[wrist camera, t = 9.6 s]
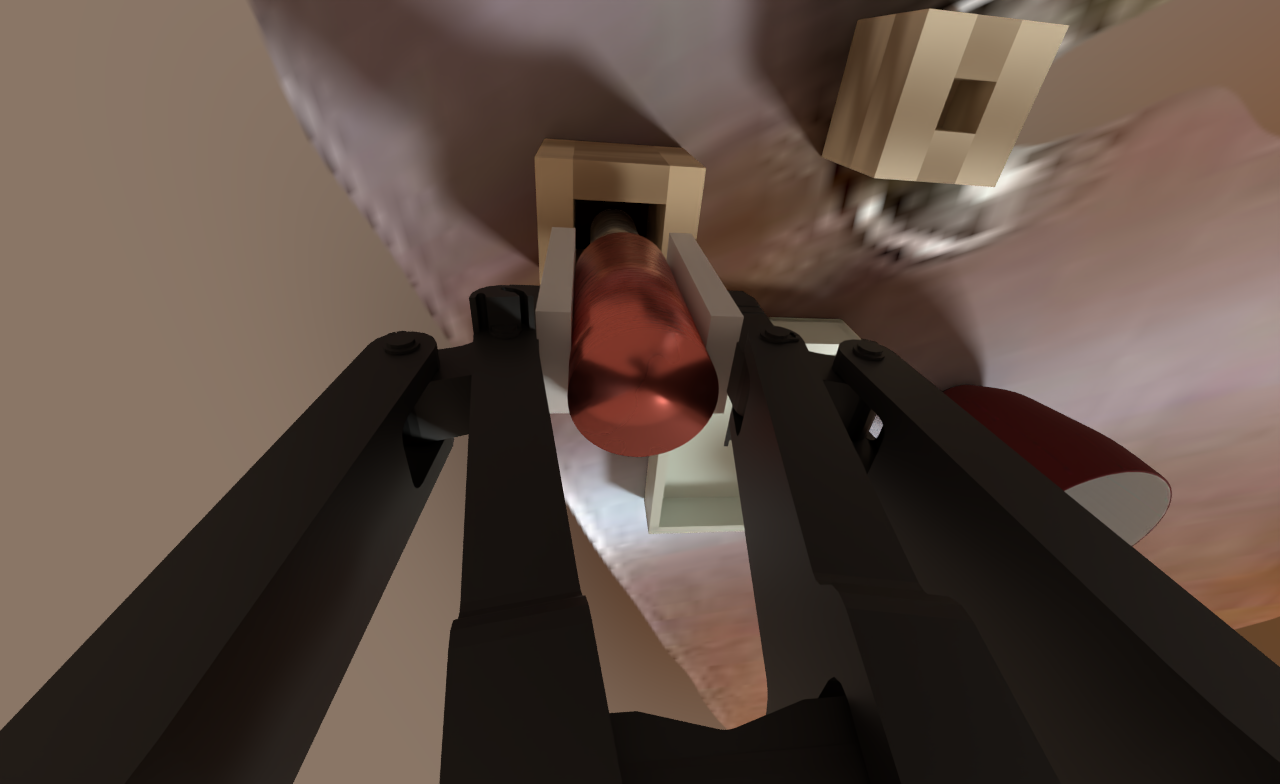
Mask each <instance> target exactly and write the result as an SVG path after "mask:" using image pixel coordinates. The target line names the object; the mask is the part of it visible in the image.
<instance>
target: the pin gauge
mask: <svg viewBox="0 0 1280 784" xmlns="http://www.w3.org/2000/svg"><path fill="white" fill-rule="evenodd" d="M590 243H591V244H590V245H589V246H588V247H587V248H586V249H585V250H584V251H583V252H582V254H581V255H580V257H579V259H578V261H577V264H576V266H575V279H574V300H573V321H572V342H571V353H570V359H569V374H568V393H567V399H568V408H569V412H570V415H571V418H572V420H573V422H574V424H575V425H576V427H577V429H578V430H579V431H580V432H581V434H582V435H583V436H584V437H585V438H587V439H588V440H589V441H590V442H592V443H593V444H594V445H596V446H598V447H600V448H601V449H604V450H606V451H608V452H611V453H615V454H618V455H624V456H632V457H645V456H653V455H658V454H662V453H665V452H668V451H671V450H674V449H676V448H678V447H680V446H682V445H684V444H685V443H687V442H688V441H690V440H691V439H692V438H694V437H695V436H696V435H697V434H698V433H699V432H700V431H701V430H702V429H703V428H704V427H705V426H706V424H707V423H708V421H709V420H710V418H711V417H712V415H713V413H714V410H715V408H716V405H717V401H718V395H719V382H718V376H717V373H716V370H715V368H714V365H713V363H712V361H711V359H710V356H709V354H708V352H707V350H706V347H705V345H704V343H703V341H702V339H701V336H700V334H699V332H698V330H697V327H696V325H695V323H694V321H693V318H692V316H691V314H690V312H689V310H688V307H687V305H686V303H685V301H684V298H683V296H682V294H681V292H680V289H679V287H678V285H677V283H676V281H675V278H674V276H673V274H672V272H671V269H670V267H669V265H668V263H667V261H666V259H665V257H664V255H663V253H662V252H661V250H660V249H659V248H658V247H657V246H656V245H655V244H654V243H653V242H651V241H650V240H648V239H647V238H645V237H643V236H640V235H638V232H637V229H636V227H635V224H634V221H633V220H632V218H631V217H630V216H629V215H628V214H627V213H626V212H624V211H622V210H619V209H607V210H604V211H602V212H600V213H599V214H598V215H597V216H596V217H595V218H594V220H593V222H592V224H591V228H590Z"/></svg>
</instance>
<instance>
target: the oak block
mask: <svg viewBox="0 0 1280 784" xmlns="http://www.w3.org/2000/svg"><path fill="white" fill-rule="evenodd" d="M705 172H706V168H705V167H704V166H703V165H702V164H701V163H700V162H698V161H697V160H696V159H695V158H694V157H693V156H691V155H690V154H689V153H688V152H687V151H686V150H685V149H683V148H677V147H662V146H648V145H633V144H619V143H605V142H590V141H576V140H561V139H547V138H545V139H544V140H543V142H542V144H541V146H540V148H539V150H538V152H537V153H536V155H535V180H536V203H537V225H538V248H539V271H540V285H541V280H542V275H543V270H544V265H545V260H546V255H547V250H548V245H549V240H550V235H551V230H552V227H563V228H575V199H580V200H598V201H616V202H634V203H649V210H648V222H647V235H646V238H647V239H648V240H650V241H651V242H653V243H654V244H655V245H656V246H657V247H658V248H659V249H660V250H661V252H662V253H663V255H664V257H665V259H667V249H668V240H669V233H689V234H692V236H693V237H694V239H695V240H696V238H697V230H698V223H699V216H700V208H701V201H702V194H703V187H704V179H705ZM584 250H585V249H575V266H576V264H577V261H578V259H579V257H580V255H581V254H582V252H583V251H584Z"/></svg>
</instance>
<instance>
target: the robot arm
mask: <svg viewBox="0 0 1280 784" xmlns="http://www.w3.org/2000/svg"><path fill="white" fill-rule="evenodd" d="M666 261H667V263H668V265H669V267H670V269H671V272H672V274H673V276H674V278H675V281H676V283H677V285H678V287H679V289H680V292H681V294H682V296H683V298H684V301H685V303H686V305H687V307H688V310H689V312H690V314H691V316H692V318H693V321H694V323H695V325H696V327H697V330H698V332H699V334H700V336H701V339H702V341H703V343H704V345H705V347H706V350H707V352H708V354H709V356H710V359H711V361H712V363H713V365H714V368H715V370H716V373H717V376H718V382H719V395H718V401H717V405H716V408H715V410H714V413H713V414H724V409H725V405H726V400H727V395H728V396H729V399H730V401H731V403H732V409H731V414H730V418H729V423H728V427H727V432H726V436H725V441H724V446H727V447H728V444H729V441H730V440H731V441H732V448H733V455H734V462H735V468H736V475H737V482H738V489H739V495H740V502H741V509H742V516H743V522H744V529H745V536H746V543H747V549H748V556H749V563H750V570H751V576H752V583H753V590H754V597H755V603H756V610H757V617H758V623H759V630H760V637H761V644H762V650H763V657H764V664H765V671H766V677H767V687H768V701H767V712H766V715H765V716H763V717H760V718H758V719H756V720H753V721H751V722H748V723H746V724H744V725H741V726H739V727H737V728H734V729H729V730H720V729H715V728H710V727H706V726H701V725H697V724H692V723H688V722H683V721H678V720H674V719H669V718H664V717H660V716H656V715H651V714H646V713H642V712H638V711H634V712H620V713H609V710H608V706H607V700H606V694H605V689H604V683H603V678H602V673H601V667H600V662H599V656H598V651H597V646H596V640H595V635H594V630H593V624H592V619H591V614H590V609H589V605H588V602H587V599H586V596H582V593H581V590H580V584H579V580H578V574H577V568H576V563H575V556H574V550H573V545H572V539H571V533H570V527H569V522H568V516H567V510H566V504H565V499H564V493H563V487H562V482H561V476H560V470H559V464H558V459H557V453H556V447H555V441H554V436H553V430H552V424H551V418H550V413H570V412H569V408H568V399H567V393H568V374H569V359H570V353H571V342H572V321H573V300H574V279H575V228H563V227H552V230H551V235H550V240H549V245H548V250H547V255H546V260H545V265H544V270H543V275H542V280H541V285H540V286H534V285H497V286H488V287H485V288H481V289H478V290H476V291H475V292H473V293H472V294H471V295H470V297H469V301H470V309H471V316H472V324H473V332H474V337H473V342H472V343H469V344H466V345H463V346H458V347H453V348H446V349H439V350H438V349H437V343H436V341H435V339H434V338H433V337H432V336H430V335H428V334H425V333H420V332H406V331H399V332H397V333H395V332H393V333H389V334H387V335H385V336H383V337H380V338H377V339H376V340H374V341H373V342H371V343H370V344H369V345H368V346H367V347H366V348H365V349H364V350H363V351H362V352H361V353H360V354H359V355H358V356H357V357H356V358H355V359H354V360H353V362H352V363H351V364H350V365H349V366H348V367H347V368H346V369H345V370H344V371H343V372H342V373H341V374H340V375H339V376H338V377H337V378H336V379H335V380H334V382H332V384H331V385H330V386H329V387H328V388H327V389H326V390H325V391H324V392H323V393H322V394H321V395H320V396H319V397H318V398H317V399H316V400H315V401H314V402H313V403H312V405H311V406H310V407H309V408H308V409H307V410H306V411H305V412H304V413H303V414H302V415H301V416H300V417H299V418H298V419H297V420H296V422H294V423H293V425H292V426H291V427H290V428H289V429H288V430H287V431H286V432H285V433H284V434H283V435H282V436H281V437H280V438H279V439H278V440H277V441H276V442H275V443H274V445H272V446H271V447H270V449H269V450H268V451H267V452H266V453H265V454H264V455H263V456H262V457H261V458H260V459H259V460H258V461H257V462H256V463H255V464H254V465H253V466H252V468H250V470H249V471H248V472H247V473H246V474H245V475H244V476H243V477H242V478H241V479H240V480H239V481H238V482H237V483H236V484H235V485H234V486H233V487H232V488H231V490H229V492H228V493H227V494H226V495H225V496H224V497H223V498H222V499H221V500H220V501H219V502H218V503H217V504H216V505H215V506H214V507H213V508H212V509H211V511H209V512H208V514H207V515H206V516H205V517H204V518H203V519H202V520H201V521H200V522H199V523H198V524H197V525H196V526H195V527H194V528H193V529H192V530H191V531H190V532H189V533H188V534H187V536H186V537H185V538H184V539H183V540H182V541H181V542H180V543H179V544H178V545H177V546H176V547H175V548H174V549H173V550H172V551H171V552H170V553H169V554H168V556H167V557H166V558H165V559H164V560H163V561H162V562H161V563H160V564H159V565H158V566H157V567H156V568H155V569H154V570H153V571H152V572H151V574H149V575H148V577H147V578H146V579H145V580H144V581H143V582H142V583H141V584H140V585H139V586H138V587H137V588H136V589H135V590H134V591H133V592H132V594H130V595H129V597H128V598H126V599H125V601H124V602H123V603H122V604H121V605H120V606H119V607H118V608H117V609H116V610H115V611H114V612H113V613H112V614H111V615H110V616H109V617H108V618H107V620H106V621H105V622H104V623H103V624H102V625H101V626H100V627H99V628H98V629H97V630H96V631H95V632H94V633H93V634H92V635H91V636H90V637H89V638H88V639H87V640H86V641H85V642H84V644H83V645H82V646H81V647H80V648H79V649H78V650H77V651H76V652H75V653H74V654H73V655H72V656H71V657H70V658H69V659H68V660H67V661H66V662H65V663H64V665H63V666H62V667H61V668H60V669H59V670H58V671H57V672H56V673H55V674H54V675H53V676H52V677H51V678H50V679H49V680H48V681H47V682H46V683H45V684H44V686H43V687H42V688H41V689H40V690H39V691H38V692H37V693H36V694H35V695H34V696H33V697H32V698H31V699H30V700H29V701H28V702H27V703H26V704H25V705H24V706H23V708H22V709H21V710H20V711H19V712H18V713H17V714H16V715H15V716H14V717H13V718H12V719H11V720H10V721H9V722H8V723H7V724H6V726H4V727H3V729H2V730H1V731H0V784H293V782H294V780H295V778H296V776H297V774H298V772H299V770H300V767H301V765H302V763H303V761H304V759H305V757H306V755H307V753H308V751H309V748H310V746H311V744H312V742H313V740H314V738H315V736H316V734H317V732H318V730H319V727H320V725H321V723H322V721H323V719H324V717H325V715H326V713H327V710H328V708H329V706H330V704H331V702H332V700H333V698H334V696H335V694H336V692H337V689H338V687H339V685H340V683H341V681H342V679H343V677H344V675H345V673H346V670H347V668H348V666H349V664H350V662H351V659H352V658H353V656H354V654H355V651H356V649H357V647H358V645H359V642H360V641H361V639H362V637H363V635H364V632H365V630H366V628H367V626H368V624H369V622H370V620H371V618H372V616H373V613H374V611H375V609H376V607H377V605H378V603H379V601H380V599H381V597H382V594H383V592H384V590H385V588H386V586H387V584H388V581H389V580H390V578H391V575H392V573H393V571H394V569H395V567H396V565H397V563H398V561H399V559H400V556H401V554H402V552H403V550H404V548H405V546H406V544H407V541H408V539H409V537H410V535H411V533H412V531H413V529H414V527H415V525H416V523H417V521H418V518H419V516H420V514H421V512H422V510H423V508H424V506H425V503H426V502H427V499H428V497H429V495H430V493H431V491H432V489H433V487H434V485H435V483H436V480H437V478H438V476H439V474H440V472H441V470H442V468H443V466H444V464H445V461H446V459H447V457H448V455H449V453H450V451H451V449H452V447H453V442H454V437H458V436H462V435H467V434H469V439H468V460H467V480H466V500H465V520H464V541H463V562H462V581H461V601H460V613H459V617H458V619H456V620H454V621H453V623H452V627H451V630H450V640H449V648H448V662H447V678H446V693H445V708H444V709H445V710H444V725H443V739H442V754H441V770H440V784H1280V667H1279V666H1278V665H1277V664H1275V663H1274V662H1273V661H1272V660H1270V659H1269V658H1268V657H1267V656H1265V655H1264V654H1263V653H1262V652H1261V651H1259V650H1258V649H1257V648H1256V647H1254V646H1253V645H1252V644H1251V643H1249V642H1248V641H1247V640H1246V639H1245V638H1243V637H1242V636H1241V635H1240V634H1238V633H1237V632H1236V631H1235V630H1234V629H1232V628H1231V627H1230V626H1229V625H1227V624H1226V623H1225V622H1224V621H1223V620H1221V619H1220V618H1219V617H1218V616H1216V615H1215V614H1214V613H1213V612H1212V611H1210V610H1209V609H1208V608H1207V607H1205V606H1204V605H1203V604H1202V603H1201V602H1199V601H1198V600H1197V599H1196V598H1194V597H1193V596H1192V595H1191V594H1189V593H1188V592H1187V591H1186V590H1185V589H1183V588H1182V587H1181V586H1180V585H1178V584H1177V583H1176V582H1175V581H1174V580H1172V579H1171V578H1170V577H1169V576H1167V575H1166V574H1165V573H1164V572H1163V571H1161V570H1160V569H1159V568H1158V567H1156V566H1155V565H1154V564H1153V563H1151V562H1150V561H1149V560H1148V559H1147V558H1145V557H1144V556H1143V555H1142V554H1140V553H1139V552H1138V551H1137V550H1136V549H1134V548H1133V547H1132V546H1131V545H1129V544H1128V543H1127V542H1126V541H1125V540H1123V539H1122V538H1121V537H1120V536H1118V535H1117V534H1116V533H1115V532H1113V531H1112V530H1111V529H1110V528H1109V527H1107V526H1106V525H1105V524H1104V523H1102V522H1101V521H1100V520H1099V519H1098V518H1096V517H1095V516H1094V515H1093V514H1091V513H1090V512H1089V511H1088V510H1087V509H1085V508H1084V507H1083V506H1082V505H1080V504H1079V503H1078V502H1077V501H1075V500H1074V499H1073V498H1072V497H1071V496H1069V495H1068V494H1067V493H1066V492H1064V491H1063V490H1062V489H1061V488H1060V487H1058V486H1057V485H1056V484H1055V483H1053V482H1052V481H1051V480H1050V479H1049V478H1047V477H1046V476H1045V475H1044V474H1042V473H1041V472H1040V471H1039V470H1037V469H1036V468H1035V467H1034V466H1033V465H1031V464H1030V463H1029V462H1028V461H1026V460H1025V459H1024V458H1023V457H1022V456H1020V455H1019V454H1018V453H1017V452H1015V451H1014V450H1013V449H1012V448H1011V447H1009V446H1008V445H1007V444H1006V443H1004V442H1003V441H1002V440H1001V439H999V438H998V437H997V436H996V435H995V434H993V433H992V432H991V431H990V430H988V429H987V428H986V427H985V426H984V425H982V424H981V423H980V422H979V421H977V420H976V419H975V418H974V417H973V416H971V415H970V414H969V413H968V412H966V411H965V410H964V409H963V408H961V407H960V406H959V405H958V404H957V403H955V402H954V401H953V400H952V399H950V398H949V397H948V396H947V395H946V394H944V393H943V392H942V391H941V390H939V389H938V388H937V387H936V386H935V385H933V384H932V383H931V382H930V381H928V380H927V379H926V378H925V377H924V376H922V375H921V374H920V373H919V372H917V371H916V370H915V369H914V368H912V367H911V366H910V365H909V364H908V363H906V362H905V361H904V360H903V359H901V358H900V357H899V356H898V355H897V354H895V353H894V352H893V351H891V350H889V349H888V348H886V347H884V346H882V345H879V344H878V343H877V342H874V341H869V340H865V339H861V340H855V339H852V340H845V341H843V342H841V343H840V344H839V347H838V350H837V353H836V355H835V356H832V355H827V354H821V353H815V352H811V351H809V350H808V348H807V346H806V344H805V342H804V340H803V339H802V337H801V336H800V335H799V334H797V333H796V332H794V331H792V330H789V329H786V328H784V327H780V326H774V325H773V324H772V322H771V321H770V320H769V318H768V317H767V315H766V314H764V311H763V310H762V308H760V306H759V304H758V303H757V302H756V300H755V299H754V298H753V297H751V296H750V295H748V294H746V293H745V292H743V291H727V289H726V288H725V286H724V285H723V283H722V281H721V280H720V278H719V277H718V275H717V274H716V272H715V270H714V269H713V267H712V266H711V264H710V262H709V261H708V259H707V258H706V256H705V255H704V253H703V251H702V250H701V248H700V247H699V245H698V243H697V242H696V240H695V239H694V237H693V236H692V234H689V233H669V240H668V249H667V259H666ZM876 414H877V415H878V416H879V418H880V419H881V421H882V423H883V427H882V429H881V431H880V434H879V436H878V437H877V438H875V437H874V436H873V435H872V434H871V433H870V432H869V430H870V428H871V425H872V423H873V421H874V418H875V416H876Z"/></svg>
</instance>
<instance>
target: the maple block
mask: <svg viewBox="0 0 1280 784" xmlns="http://www.w3.org/2000/svg"><path fill="white" fill-rule="evenodd" d="M1068 27H1069V26H1068V25H1060V24H1052V23H1044V22H1036V21H1027V20H1019V19H1011V18H1003V17H995V16H986V15H978V14H970V13H962V12H954V11H946V10H937V9H923V10H917V11H911V12H904V13H898V14H892V15H885V16H879V17H872V18H866V19H860V20H858V21H857V25H856V28H855V32H854V36H853V40H852V44H851V47H850V51H849V55H848V59H847V62H846V66H845V70H844V74H843V78H842V81H841V85H840V89H839V93H838V97H837V100H836V104H835V108H834V112H833V115H832V119H831V123H830V127H829V131H828V134H827V138H826V142H825V146H824V150H823V153H822V157H823V158H826V159H828V160H831V161H833V162H836V163H838V164H841V165H843V166H846V167H848V168H851V169H853V170H856V171H858V172H861V173H863V174H866V175H868V176H871V177H873V178H881V179H895V180H908V181H921V182H935V183H948V184H961V185H975V186H988V187H995V185H996V183H997V181H998V179H999V177H1000V175H1001V172H1002V170H1003V168H1004V166H1005V164H1006V162H1007V159H1008V157H1009V155H1010V153H1011V151H1012V149H1013V146H1014V144H1015V142H1016V140H1017V138H1018V135H1019V133H1020V131H1021V129H1022V127H1023V124H1024V122H1025V120H1026V118H1027V116H1028V114H1029V112H1030V109H1031V107H1032V105H1033V103H1034V101H1035V98H1036V96H1037V94H1038V92H1039V90H1040V88H1041V86H1042V83H1043V81H1044V79H1045V77H1046V75H1047V72H1048V70H1049V68H1050V66H1051V64H1052V62H1053V59H1054V57H1055V55H1056V53H1057V51H1058V49H1059V46H1060V44H1061V42H1062V40H1063V38H1064V36H1065V33H1066V31H1067V29H1068Z"/></svg>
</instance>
